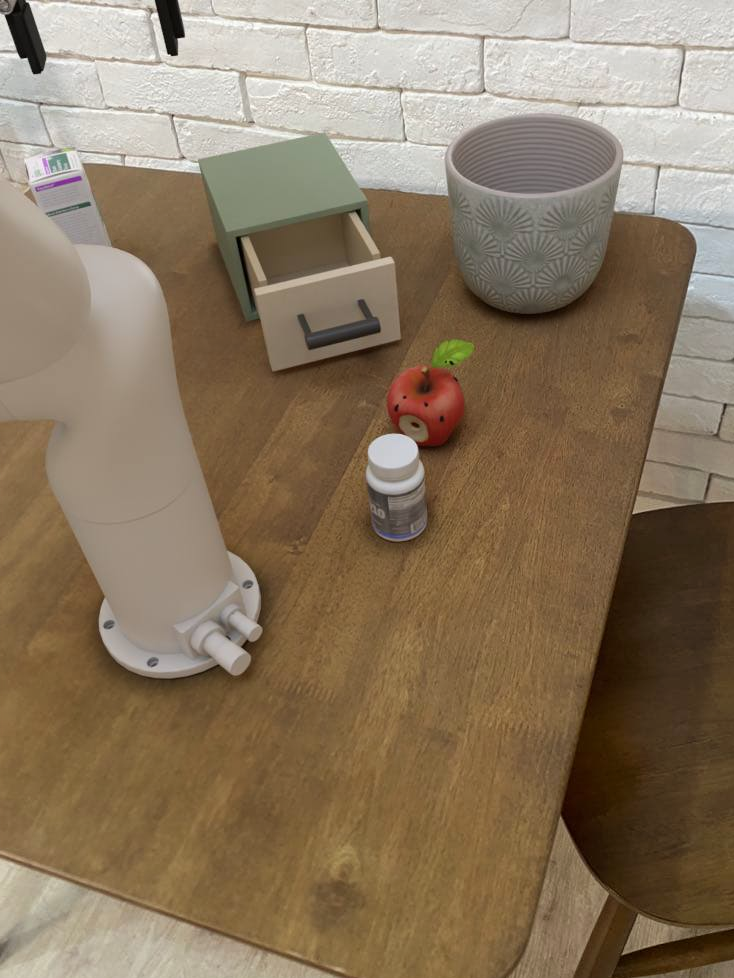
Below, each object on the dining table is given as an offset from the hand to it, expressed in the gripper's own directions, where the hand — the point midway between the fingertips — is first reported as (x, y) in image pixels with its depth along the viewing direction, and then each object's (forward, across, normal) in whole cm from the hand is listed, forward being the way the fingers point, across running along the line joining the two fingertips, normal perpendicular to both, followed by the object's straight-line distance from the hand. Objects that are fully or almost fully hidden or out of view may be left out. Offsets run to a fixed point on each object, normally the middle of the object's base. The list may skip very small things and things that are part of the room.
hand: (107, 58), depth 68 cm
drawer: (+31, +13, +8) cm, 35 cm away
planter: (+32, +35, +10) cm, 49 cm away
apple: (+32, +21, -10) cm, 40 cm away
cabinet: (+32, +11, +22) cm, 40 cm away
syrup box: (+32, -12, +24) cm, 42 cm away
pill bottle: (+32, +16, -20) cm, 41 cm away
